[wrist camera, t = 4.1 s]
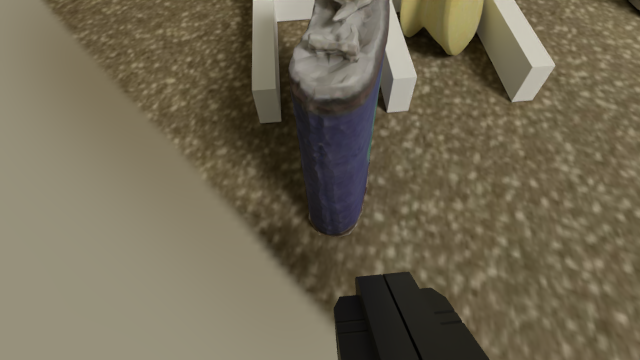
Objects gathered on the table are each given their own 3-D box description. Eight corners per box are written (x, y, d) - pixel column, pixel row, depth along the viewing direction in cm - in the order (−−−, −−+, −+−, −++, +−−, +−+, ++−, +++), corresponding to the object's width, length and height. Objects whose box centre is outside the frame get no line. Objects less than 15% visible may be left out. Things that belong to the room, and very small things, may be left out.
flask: (321, 92, 21) (316, -137, 12) (371, 95, 21) (403, -136, 12) (302, 237, 17) (270, 41, 7) (366, 243, 16) (414, 47, 7)
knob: (480, 28, 24) (512, -51, 20) (453, 75, 22) (483, -3, 18) (414, 8, 25) (431, -70, 21) (383, 51, 23) (395, -28, 19)
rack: (475, -5, 26) (497, -66, 22) (532, 100, 21) (572, 40, 17) (259, 12, 26) (248, -48, 22) (260, 123, 20) (245, 67, 17)
